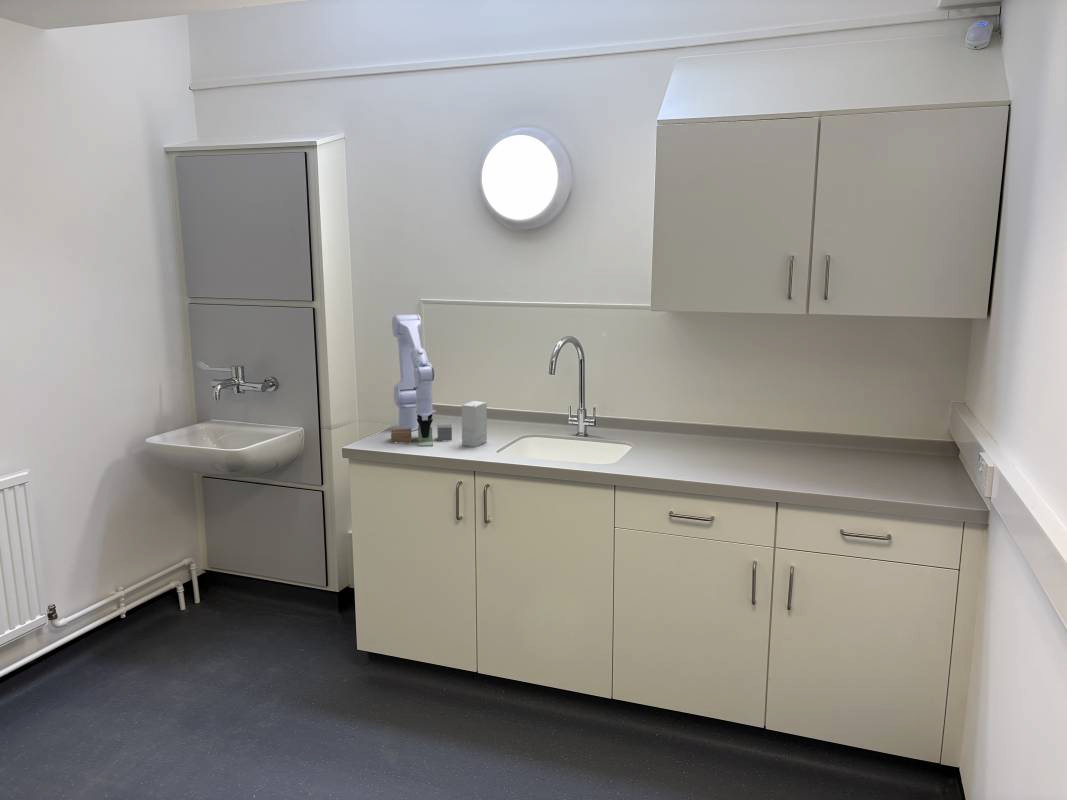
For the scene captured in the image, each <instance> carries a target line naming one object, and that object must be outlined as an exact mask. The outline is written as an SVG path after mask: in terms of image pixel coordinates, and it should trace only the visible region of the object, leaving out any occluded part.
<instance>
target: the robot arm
mask: <svg viewBox="0 0 1067 800" xmlns="http://www.w3.org/2000/svg"><path fill="white" fill-rule="evenodd" d="M391 327H392V334H393V337H395V338H397V339H396V340H397V344H398V358H399V371H400V372H399V373H400V374H399V375H400V381H398V383H396V384H395V386H394V387H393V402H394V404H395V406H397V407H398V425H399V426H397V427H394V429H399V428H411V432H413V431H417V430H418V425H419V426H420V429H421V434H422V438H428V436H429V430H430V426H431V425H432V422H433V414H436V413H437V411H436V409H434V408H433V406H434V405H433V382H434V380H435V369H434V366H433V365H432V363H431V362H429V359H428V356H427V352H426V349H424V348H422V344H421V339H420V335H419V333H420V331H421V328H422V318H421V316H420V314H418V313H416V314H415V313H414V314H394V315H393V317H392V321H391ZM433 409H434V410H433Z"/></svg>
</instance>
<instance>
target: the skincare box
mask: <svg viewBox="0 0 1067 800" xmlns="http://www.w3.org/2000/svg"><path fill="white" fill-rule="evenodd" d="M487 410H488V409H487V402H486V401H485V402H484V401H479V400H472V401H469V402H467V403H464V404H461V445H462V446H466V447H467V446H468V447H472V448H476V447H479V446H480V445H482V444H485V443H487V440H488V437H487V436H488V434H487V433H488V430H487V427H488V424H487V421H488V420H487V417H488V414H487V412H488V411H487Z"/></svg>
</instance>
